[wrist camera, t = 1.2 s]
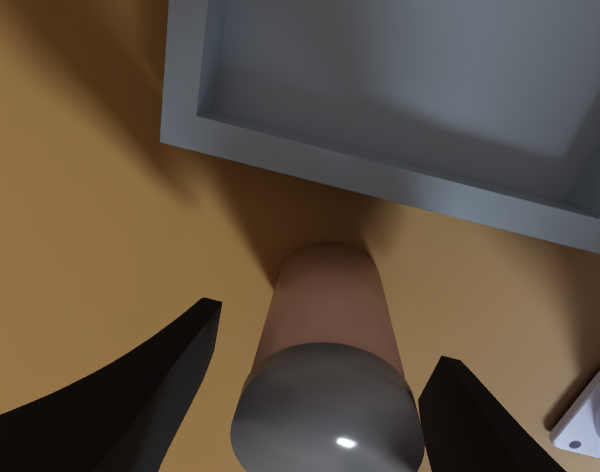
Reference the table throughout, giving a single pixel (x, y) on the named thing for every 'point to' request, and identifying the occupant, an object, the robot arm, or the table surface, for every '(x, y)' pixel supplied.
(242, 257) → the table surface
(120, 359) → the robot arm
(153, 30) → the table surface
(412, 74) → the tray
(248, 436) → the shaker
